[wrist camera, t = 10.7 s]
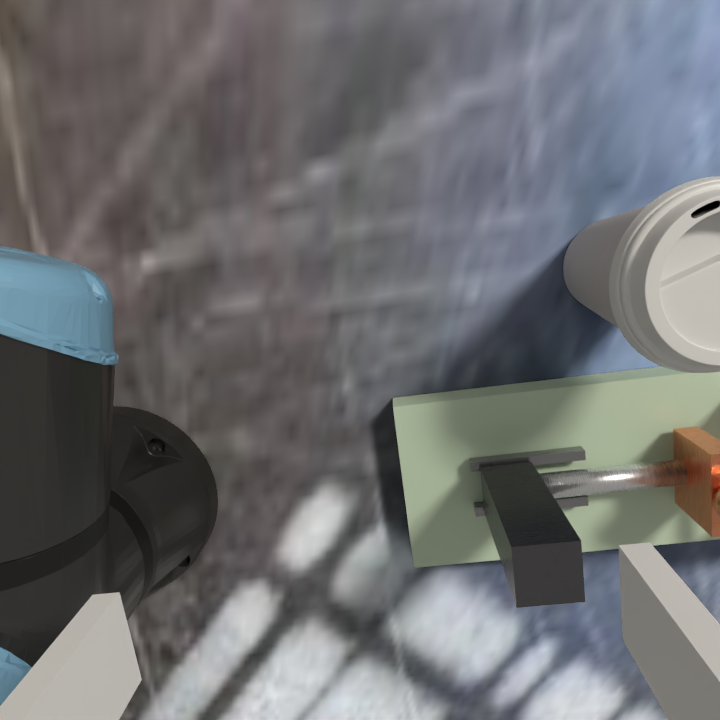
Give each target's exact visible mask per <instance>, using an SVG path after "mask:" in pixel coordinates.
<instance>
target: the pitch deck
mask: <svg viewBox="0 0 720 720" xmlns="http://www.w3.org/2000/svg"><path fill="white" fill-rule="evenodd" d="M393 412H394V419H395V427H396V435H397V442H398V450H399V458H400V465H401V473H402V481H403V488H404V496H405V504H406V511H407V519H408V527H409V534H410V542H411V550H412V557H413V565H414V568H419V567H429V566H440V565H451V564H461V563H472V562H483V561H494V560H500V557H499V554H498V551H497V548H496V546H495V543H494V540H493V537H492V534H491V531H490V528H489V525H488V522H487V519H486V516H479V517H476V515H475V512H474V504H473V502H481V501H483V491H482V481H481V471H477V472H471V469H470V465H469V458H475V457H484V456H493V455H502V454H512V453H521V452H530V451H539V450H549V449H558V448H567V447H577V446H581V447H582V448H583V449H584V450H585V454H586V460H581V461H571V462H562V463H553V464H543V465H534V467H535V468H536V470H537V471H538V473H548V472H557V471H567V470H576V469H586V468H595V467H605V466H615V465H624V464H634V463H643V462H653V461H662V460H672V459H674V447H673V429H677V428H686V427H695V426H697V427H699V428H700V429H702V430H704V431H705V432H707V433H709V434H710V435H712V436H713V437H715V438H717V439H718V440H720V372H712V373H687V372H680V371H675V370H671V369H668V368H665V367H663V366H661V367H652V368H644V369H635V370H627V371H618V372H610V373H601V374H593V375H584V376H576V377H567V378H559V379H550V380H542V381H533V382H525V383H516V384H508V385H499V386H491V387H482V388H474V389H465V390H457V391H448V392H440V393H431V394H423V395H414V396H406V397H397V398H393ZM587 496H588V506H580V507H570V508H561V509H562V511H563V513H564V514H565V516H566V517H567V519H568V520H569V522H570V524H571V525H572V527H573V528H574V530H575V532H576V533H577V535H578V536H579V538H580V539H581V545H582V552H590V551H601V550H611V549H619V545H628V544H638V543H649V542H650V543H651V544H652V545H653V546H654V545H665V544H676V543H686V542H697V541H708V540H718V539H720V536H719V537H711V536H710V535H709V534H708V533H707V532H706V531H705V530H704V529H703V528H702V527H701V526H699V525H698V524H697V523H696V522H695V521H694V520H693V519H692V518H691V517H690V516H689V515H688V514H687V513H686V512H684V511H683V510H682V509H681V508H680V507H679V506H678V505H677V504H676V503H675V488H674V486H672V487H662V488H652V489H642V490H632V491H622V492H612V493H602V494H593V495H587Z"/></svg>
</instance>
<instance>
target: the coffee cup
mask: <svg viewBox="0 0 720 720" xmlns="http://www.w3.org/2000/svg"><path fill="white" fill-rule="evenodd" d="M563 275H564V280H565V283H566V286H567V288H568V290H569V291H570V293H571V294H572V296H573V297H574V298H575V299H576V300H577V301H579V302H580V303H581V304H583V305H584V306H586V307H587V308H589V309H590V310H592V311H593V312H595V313H596V314H598V315H599V316H601V317H602V318H604V319H605V320H607V321H609V322H610V323H612V324H613V325H615V326H616V327H618V328H619V329H620V331H621V332H622V334H623V336H624V337H625V338H626V340H627V341H628V342H629V343H630V344H631V346H632V347H633V348H634V349H635V350H637V351H638V352H639V353H640V354H641V355H643V356H644V357H645V358H647V359H649V360H650V361H652V362H654V363H656V364H658V365H660V366H663V367H665V368H668V369H671V370H675V371H680V372H687V373H712V372H720V176H719V177H708V178H702V179H697V180H693V181H690V182H687V183H684V184H682V185H679V186H677V187H675V188H673V189H671V190H669V191H667V192H666V193H664V194H662V195H661V196H659V197H658V198H656V199H655V200H654V201H652V202H651V203H650V204H649V205H648V206H644V207H641V208H638V209H635V210H632V211H629V212H626V213H623V214H619V215H616V216H613V217H610V218H607V219H603V220H600V221H597V222H595V223H593V224H591V225H589V226H587V227H586V228H584V229H583V230H582V231H580V232H579V233H578V234H577V235H576V236H575V238H574V239H573V240H572V242H571V243H570V245H569V247H568V249H567V251H566V254H565V257H564V262H563Z"/></svg>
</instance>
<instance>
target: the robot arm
mask: <svg viewBox="0 0 720 720" xmlns="http://www.w3.org/2000/svg"><path fill="white" fill-rule="evenodd" d="M117 364H118V354H117V353H116V352H115V351H114V335H113V302H112V296H111V293H110V290H109V288H108V286H107V285H106V283H105V282H104V281H103V280H102V279H101V277H99V276H98V275H97V274H96V273H95V272H93V271H92V270H90V269H88V268H86V267H84V266H81V265H79V264H76V263H73V262H69V261H66V260H62V259H58V258H54V257H50V256H45V255H41V254H37V253H33V252H28V251H23V250H19V249H14V248H9V247H4V246H0V720H119V719H120V717H121V715H122V714H123V712H124V710H125V708H126V706H127V705H128V703H129V701H130V699H131V698H132V696H133V694H134V692H135V690H136V689H137V687H138V685H139V683H140V681H141V680H142V679H141V675H140V671H139V667H138V663H137V659H136V655H135V651H134V647H133V643H132V639H131V635H130V631H129V627H128V623H127V620H128V619H129V617H130V616H131V614H132V613H133V611H134V610H135V608H136V607H137V605H138V604H139V602H140V601H141V600H143V599H145V598H146V597H148V596H150V595H151V594H153V593H154V592H156V591H158V590H159V589H161V588H162V587H164V586H166V585H167V584H169V583H170V582H172V581H173V580H175V579H176V578H178V577H179V576H180V575H182V574H183V573H184V572H185V571H186V570H187V569H188V568H189V567H190V566H191V565H192V564H193V562H194V561H195V560H196V559H197V557H198V555H199V554H200V552H201V551H202V549H203V547H204V546H205V544H206V542H207V541H208V539H209V537H210V535H211V533H212V530H213V528H214V525H215V521H216V516H217V508H218V497H217V489H216V484H215V480H214V477H213V473H212V471H211V469H210V466H209V464H208V462H207V460H206V459H205V457H204V455H203V454H202V452H201V451H200V449H199V448H198V447H197V445H196V444H195V443H194V442H193V441H192V440H191V439H190V438H189V437H188V436H187V435H186V434H185V433H184V432H183V431H182V430H180V429H179V428H178V427H176V426H175V425H174V424H172V423H170V422H169V421H167V420H165V419H163V418H161V417H159V416H157V415H155V414H152V413H150V412H147V411H143V410H140V409H135V408H129V407H113V398H114V373H115V365H117ZM619 565H620V586H621V607H622V628H623V641H624V643H625V645H626V646H627V648H628V650H629V652H630V653H631V655H632V657H633V659H634V660H635V662H636V664H637V666H638V667H639V669H640V671H641V672H642V674H643V676H644V678H645V679H646V681H647V683H648V685H649V686H650V688H651V690H652V691H653V693H654V695H655V697H656V698H657V700H658V702H659V704H660V705H661V707H662V709H663V711H664V712H665V714H666V716H667V717H668V719H669V720H720V624H719V623H718V622H717V621H716V619H715V618H714V617H713V616H712V615H711V614H710V612H709V611H708V610H707V609H706V608H705V606H704V605H703V604H702V603H701V602H700V601H699V599H698V598H697V597H696V596H695V595H694V594H693V592H692V591H691V590H690V589H689V588H688V587H687V585H686V584H685V583H684V582H683V581H682V579H681V578H680V577H679V576H678V575H677V574H676V572H675V571H674V570H673V569H672V568H671V567H670V565H669V564H668V563H667V562H666V561H665V560H664V558H663V557H662V556H661V555H660V554H659V552H658V551H657V550H656V549H655V548H654V547H653V545H652V544H651V543H650V542H649V543H638V544H628V545H619Z"/></svg>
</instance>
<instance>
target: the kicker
mask: <svg viewBox="0 0 720 720" xmlns="http://www.w3.org/2000/svg"><path fill="white" fill-rule="evenodd" d="M673 447H674V459H672V460H662V461H653V462H643V463H634V464H624V465H615V466H605V467H595V468H586V469H576V470H567V471H557V472H548V473H538V471H537V470H536V468H535V467H534V465H533V463H532V462H528V463H519V464H510V465H500V466H491V467H482V468H480V471H481V481H482V491H483V501H484V512H485V516H486V519H487V522H488V525H489V528H490V531H491V534H492V537H493V540H494V543H495V546H496V548H497V551H498V554H499V557H500V560H501V563H502V566H503V569H504V572H505V575H506V578H507V581H508V583H509V586H510V589H511V592H512V595H513V598H514V601H515V604H516V607H517V608H518V607H529V606H541V605H552V604H564V603H575V602H585V594H584V578H583V561H582V545H581V539H580V538H579V536H578V535H577V533H576V532H575V530H574V528H573V527H572V525H571V524H570V522H569V520H568V519H567V517H566V516H565V514H564V513H563V511H562V509H561V508H560V506H559V505H558V503H557V501H556V500H555V498H563V497H573V496H583V495H593V494H602V493H612V492H622V491H632V490H642V489H652V488H662V487H672V486H674V488H675V503H676V504H677V505H678V506H679V507H680V508H681V509H682V510H683V511H684V512H686V513H687V514H688V515H689V516H690V517H691V518H692V519H693V520H694V521H695V522H696V523H697V524H698V525H699V526H701V527H702V528H703V529H704V530H705V531H706V532H707V533H708V534H709V535H710V536H711V537H719V536H720V440H718V439H717V438H715V437H713V436H712V435H710V434H709V433H707V432H705V431H704V430H702V429H700V428H699V427H697V426H695V427H686V428H677V429H673Z"/></svg>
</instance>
